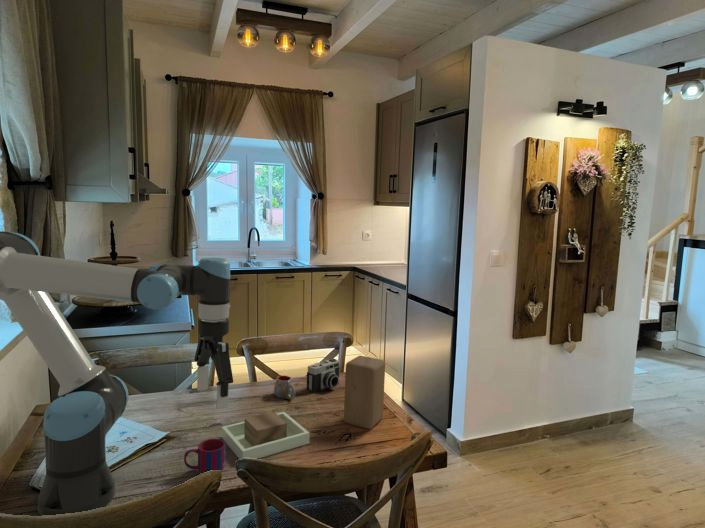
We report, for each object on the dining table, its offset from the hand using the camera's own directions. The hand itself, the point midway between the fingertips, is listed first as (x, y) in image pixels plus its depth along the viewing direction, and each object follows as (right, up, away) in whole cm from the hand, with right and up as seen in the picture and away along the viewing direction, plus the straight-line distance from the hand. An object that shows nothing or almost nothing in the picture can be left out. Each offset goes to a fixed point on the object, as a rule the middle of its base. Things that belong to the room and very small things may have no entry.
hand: (211, 398), depth 122 cm
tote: (+11, -17, +13) cm, 24 cm away
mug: (+13, -13, +46) cm, 49 cm away
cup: (-1, -18, -2) cm, 18 cm away
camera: (+26, -12, +56) cm, 63 cm away
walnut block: (+11, -16, +13) cm, 23 cm away
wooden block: (+40, -16, +30) cm, 52 cm away
